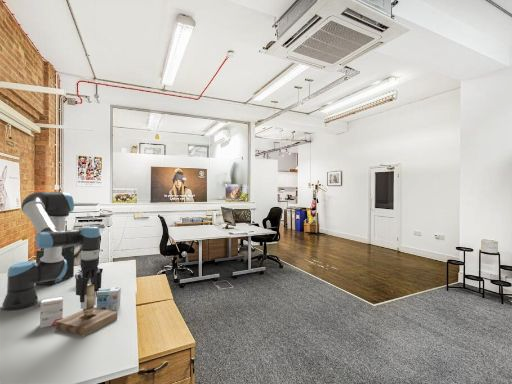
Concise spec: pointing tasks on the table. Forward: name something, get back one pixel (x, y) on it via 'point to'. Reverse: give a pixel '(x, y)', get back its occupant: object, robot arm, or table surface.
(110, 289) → the light bulb box
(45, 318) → the ink box
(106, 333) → the table surface
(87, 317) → the board
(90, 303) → the peg
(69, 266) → the headset box
